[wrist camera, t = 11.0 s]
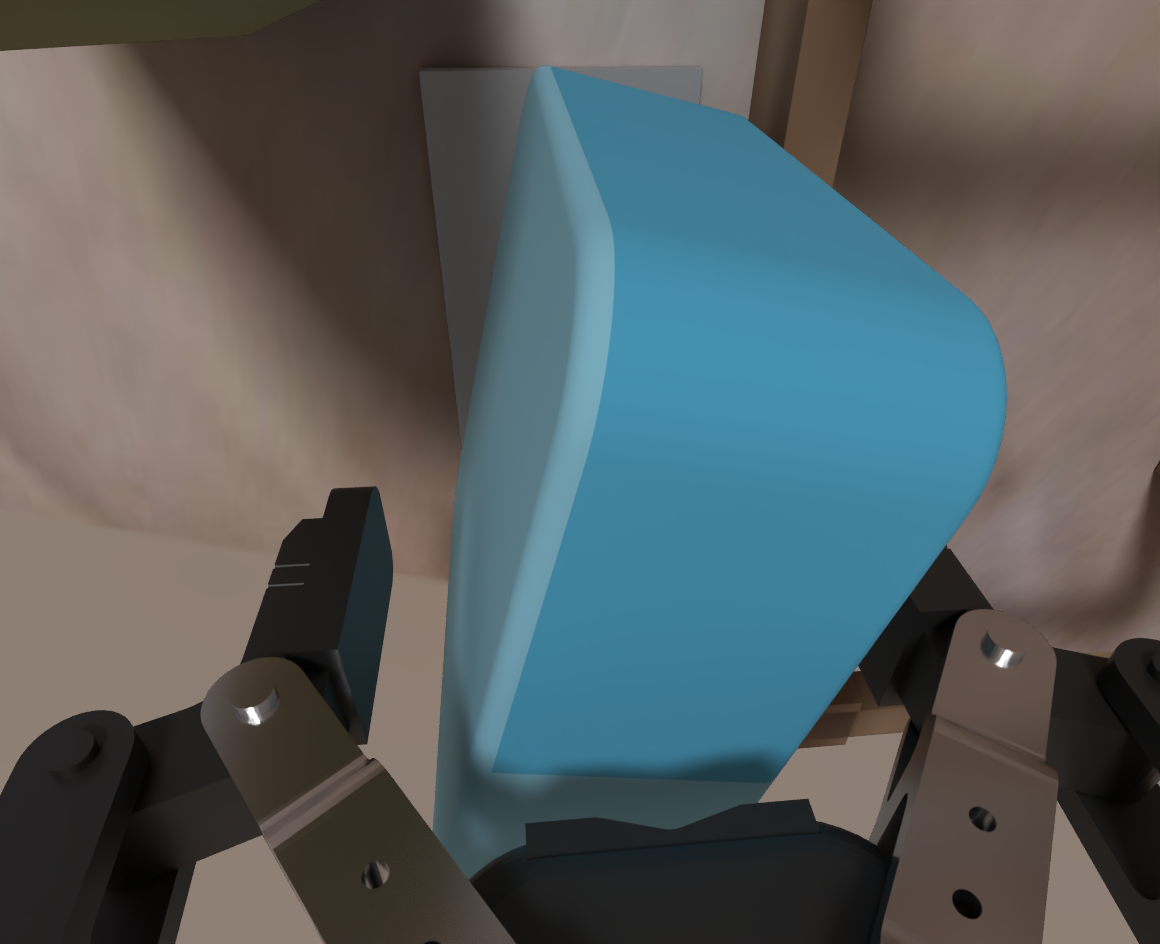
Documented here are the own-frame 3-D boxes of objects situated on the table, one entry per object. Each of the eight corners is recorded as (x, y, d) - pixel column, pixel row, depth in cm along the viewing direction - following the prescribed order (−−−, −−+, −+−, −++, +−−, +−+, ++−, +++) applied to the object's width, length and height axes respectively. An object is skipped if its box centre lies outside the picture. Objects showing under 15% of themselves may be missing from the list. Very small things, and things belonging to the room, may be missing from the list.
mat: (698, 66, 16) (702, 69, 15) (657, 491, 23) (660, 499, 23) (419, 67, 15) (418, 71, 15) (469, 501, 23) (468, 510, 22)
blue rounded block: (596, 511, 23) (671, 932, 13) (453, 493, 22) (424, 935, 12) (732, 102, 16) (1085, 379, 6) (531, 49, 15) (601, 284, 5)
